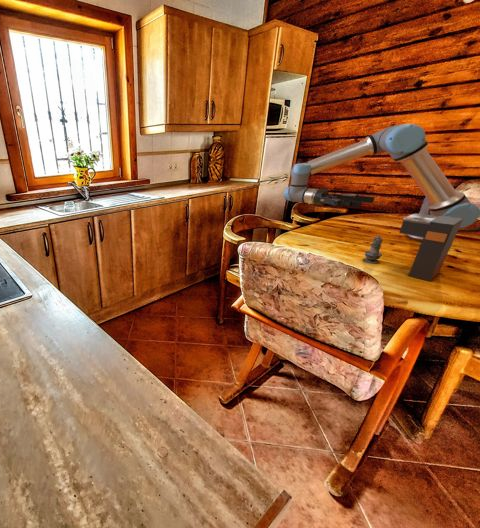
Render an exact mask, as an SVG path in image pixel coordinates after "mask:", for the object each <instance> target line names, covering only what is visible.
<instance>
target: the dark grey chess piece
mask: <svg viewBox="0 0 480 528" xmlns="http://www.w3.org/2000/svg"><path fill="white" fill-rule="evenodd" d="M382 243H383V238H382V237H381V235H377V236H376V237H374V238H373V240H372V243H371V244H370V249H369V250H366V251H364V256H365V258H363V259H362V260H363V262H365V263H368V264H379V263H380V261H379V259H380V258H381V257H382V256H383V254H382V253H380V249H381V248H382Z"/></svg>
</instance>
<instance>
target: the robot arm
mask: <svg viewBox="0 0 480 528" xmlns="http://www.w3.org/2000/svg"><path fill="white" fill-rule="evenodd" d="M428 146H429V142H428V141H427V139H426V132H425V130H424V128H423V127H421V126H420V125H417V124H414V123H404V124H395V125H391V126H389V127H388V126H387V127H386V128H384V129H382V130H380V131H377V132H376V133H372V134H369V135H368V136H366V137H365V138H364V140H361V141H358V142H356V143H353V144H350V145H347V146H345V147H342V148H340V149H336V150H335V151H331V152H329V153H326V154H324V155H322V156H318V157H317V158H313V159H311V160H309V161H306V162H303V163H295V164H294V165H293V166H292V167H291V168H290V173H289V175H290V177H291V183H290V186H287V187H286V188H285V190H284V192H283V199H284V200H286V201H287V202H293V203H303V204H307V205H309V206H310V205H319V206H323V205H325V204H327V205H330V206H334V207H338V208H342V207H349V208H355V209H356V208H358V209H360V208H361V206H362V203H366V204H367V203H369V204H374V201H375V196H369V195H360V194H359V193H356V194H355V193H354V194H353V193H331V194H329V190H328V189H321V188H320V189H319V188H311V187H310V188H309V187H308V182H309V177H310V176H312V175H314V174H317V173H321V172H323V171H327V170H329V169H332V168H335V167H338V166H340V165H343V164H346V163H348V162H352V161H354V160H357V159H360V158H362V157H365V156H366V157H367V156H373V155H378V154H382V153H388V155H389V156H390V157H391V159H392V161H394V162H395V163H401V165H402V166H403V167H404V169H405V170H406V172H407V173H408V175H409V176H410V177H411V179H412V180H413V181H414V182H415V184H416V185H417V187H418V188H419V190H420V191H421V192H422V193H423V195H424V196H425V197H424V199H423V202H422V204H421V208H420V210H419V212H418V214H424V215H432V216H446V217H454V218H462V219H463V220H462V223H461V225H460V227H459V229H458V231H457V232H476V231H478V230H479V229H480V226H476V227H475V228H471V229H470V228H469V229H467V228H466V227H469V226H471V225H473V224H474V223H475V222H476V221H478V219H479V217H480V207H479V206H478V205H476V204H475V203H472V202H471V201H470V200H469V199H468V197H467V196H466V194H465V193H464V192H463V191H456V189H455V188H454V186H453V185H452V184H451V182H450V181H449V179H448V178H447V177H446V175H445V174H444V172H443V171H442V169H441V168H440V167H439V166H438V164H437V162H436V161H435V160H434V158H433V157H432V156H431V154H430V153H429V151H428V150H427V147H428ZM462 228H463V229H462ZM464 228H465V229H464ZM405 237H407V238H408V239H411V240H415V241H419V242H422V240H423V238H424V237H419V236H414V235H408V234H405Z"/></svg>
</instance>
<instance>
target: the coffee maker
mask: <svg viewBox="0 0 480 528" xmlns="http://www.w3.org/2000/svg"><path fill="white" fill-rule="evenodd" d="M462 220H463V219H462V218H454V217H446V216H432V215H424V214H419V213H416V212H414V213H412V214H410V215H408V216H406V217H404V218H403V219H402V223H401V227H400V228H399V232H398V234H403V235H406V234H408V235H414V236H419V237H424V238H423V240H422V241H421V243H420V246H419V247H418V250H417V253H416V255H415V257H414V260H413V262H412V264H411V267H410V270H409V272H408V274H407V275H408V277H412V278H414V279H419V280H422V281H426V282H430V281H432V279H435V277H436V276H437V275H438V274H439V273H440V272H441V269H442V267H443V265H444V262H445V260H446V258H447V256H448V254H449V251H450V250H451V247H452V245H453V242H454V240H455V238H456V235H457V234H458V232H459V231H458V230H460V228H459V227H460V225H461V223H462Z"/></svg>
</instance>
